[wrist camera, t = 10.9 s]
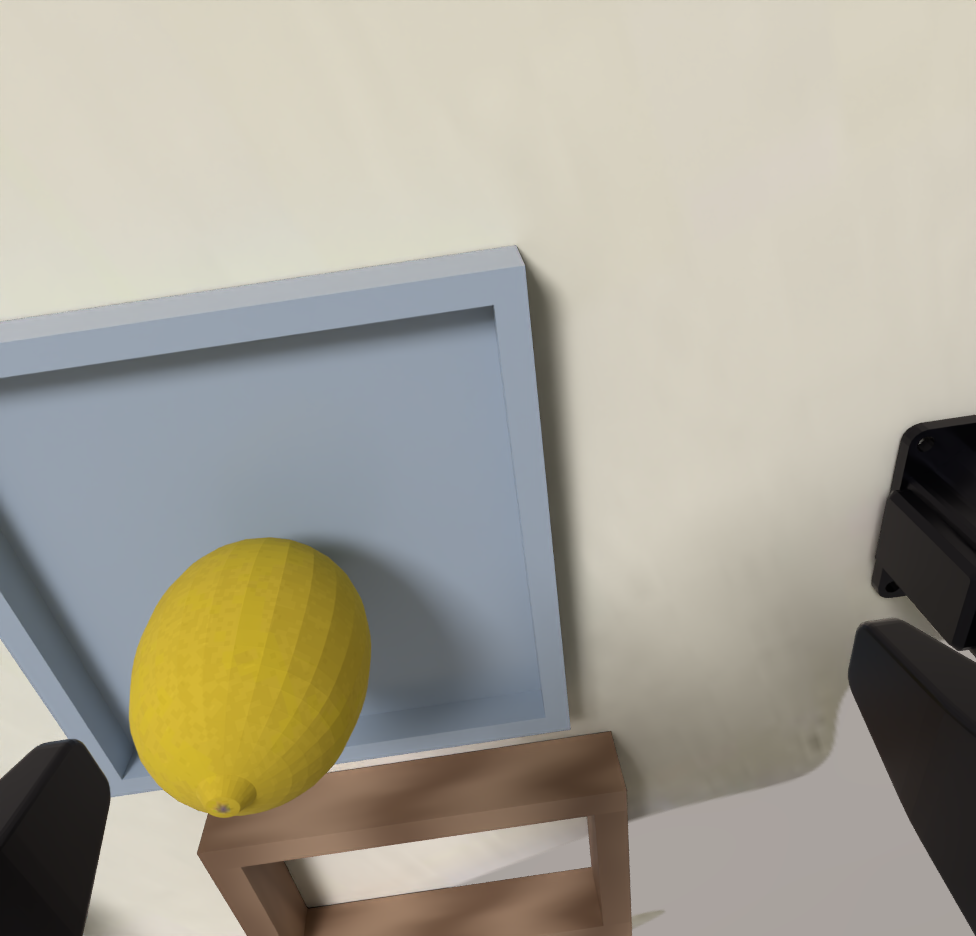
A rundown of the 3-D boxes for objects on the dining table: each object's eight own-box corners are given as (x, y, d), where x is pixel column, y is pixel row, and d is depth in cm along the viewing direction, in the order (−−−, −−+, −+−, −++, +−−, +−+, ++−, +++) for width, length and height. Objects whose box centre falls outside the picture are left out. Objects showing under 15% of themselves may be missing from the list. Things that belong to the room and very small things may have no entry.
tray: (516, 245, 17) (525, 265, 16) (561, 688, 26) (570, 729, 24) (-128, 340, 17) (-183, 369, 16) (127, 752, 26) (108, 797, 24)
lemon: (408, 590, 22) (407, 836, 15) (253, 651, 23) (186, 912, 16) (317, 452, 19) (266, 679, 12) (144, 527, 20) (6, 780, 13)
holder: (610, 731, 27) (626, 790, 25) (618, 877, 33) (632, 935, 31) (214, 789, 27) (196, 853, 25) (288, 925, 33) (278, 988, 31)
